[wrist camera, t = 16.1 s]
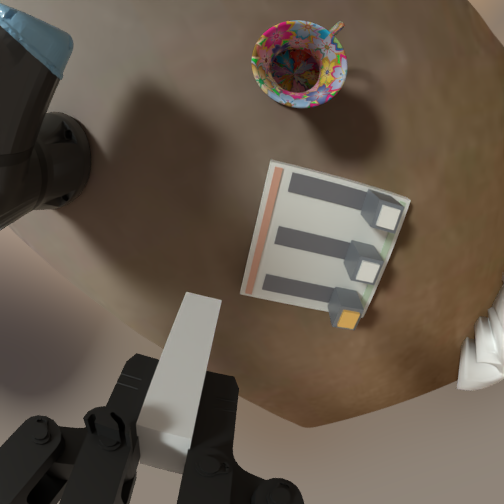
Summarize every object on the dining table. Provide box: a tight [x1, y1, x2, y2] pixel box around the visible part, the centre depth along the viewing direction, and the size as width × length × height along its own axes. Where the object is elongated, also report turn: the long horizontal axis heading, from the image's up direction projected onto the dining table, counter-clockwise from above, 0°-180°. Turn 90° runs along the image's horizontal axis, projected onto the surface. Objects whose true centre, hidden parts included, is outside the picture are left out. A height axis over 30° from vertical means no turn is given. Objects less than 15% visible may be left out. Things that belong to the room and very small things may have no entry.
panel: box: [240, 159, 411, 318], centre depth 42 cm, size 20×20×7 cm
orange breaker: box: [327, 287, 364, 330], centre depth 44 cm, size 4×4×6 cm
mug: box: [252, 20, 348, 108], centre depth 31 cm, size 12×9×11 cm
